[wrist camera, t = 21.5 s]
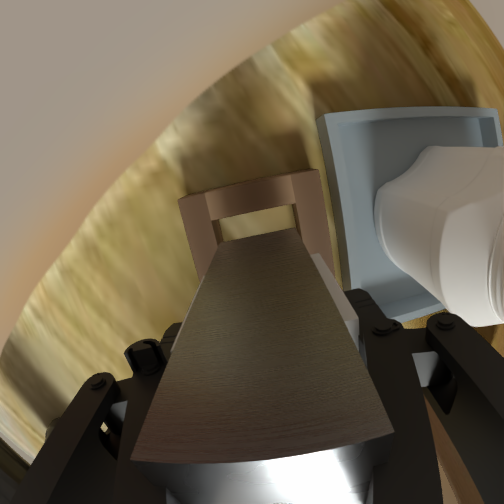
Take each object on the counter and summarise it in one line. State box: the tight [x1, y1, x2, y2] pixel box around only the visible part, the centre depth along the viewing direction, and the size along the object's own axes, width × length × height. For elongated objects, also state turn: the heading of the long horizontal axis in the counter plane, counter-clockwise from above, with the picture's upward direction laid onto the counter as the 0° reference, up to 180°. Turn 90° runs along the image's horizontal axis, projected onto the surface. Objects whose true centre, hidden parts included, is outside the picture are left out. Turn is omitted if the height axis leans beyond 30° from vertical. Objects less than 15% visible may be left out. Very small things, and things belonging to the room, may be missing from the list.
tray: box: [316, 106, 503, 323], centre depth 22 cm, size 18×18×3 cm
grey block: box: [130, 228, 395, 504], centre depth 11 cm, size 4×4×14 cm
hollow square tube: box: [178, 169, 335, 282], centre depth 23 cm, size 10×10×3 cm
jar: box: [374, 146, 504, 327], centre depth 15 cm, size 12×10×15 cm
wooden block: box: [423, 394, 484, 504], centre depth 20 cm, size 10×10×20 cm
